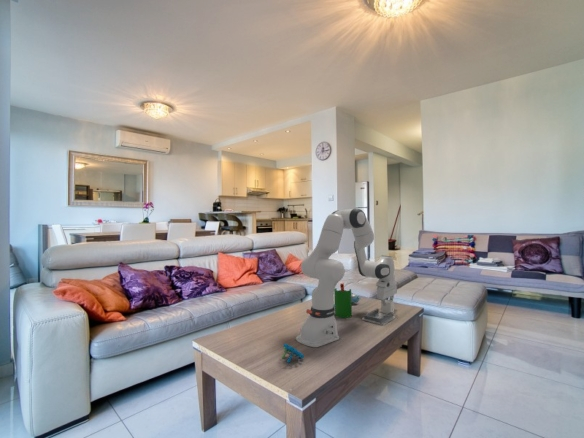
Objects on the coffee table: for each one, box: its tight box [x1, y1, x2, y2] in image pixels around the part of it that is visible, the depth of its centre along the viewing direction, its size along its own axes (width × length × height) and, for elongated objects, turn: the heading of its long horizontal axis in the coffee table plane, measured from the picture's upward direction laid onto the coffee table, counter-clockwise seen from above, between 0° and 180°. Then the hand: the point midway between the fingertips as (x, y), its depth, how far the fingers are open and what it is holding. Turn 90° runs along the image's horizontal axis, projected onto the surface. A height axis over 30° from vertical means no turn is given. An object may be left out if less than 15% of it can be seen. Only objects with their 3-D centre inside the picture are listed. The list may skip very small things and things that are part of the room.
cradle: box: [361, 308, 396, 326], centre depth 160 cm, size 15×13×3 cm
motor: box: [334, 282, 353, 319], centre depth 168 cm, size 10×9×20 cm
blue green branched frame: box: [282, 343, 305, 364], centre depth 115 cm, size 11×6×10 cm
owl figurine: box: [334, 292, 362, 308], centre depth 193 cm, size 28×9×15 cm
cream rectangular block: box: [380, 299, 395, 314], centre depth 171 cm, size 5×6×7 cm
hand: (388, 303), depth 171 cm, fingers open, 8 cm apart
